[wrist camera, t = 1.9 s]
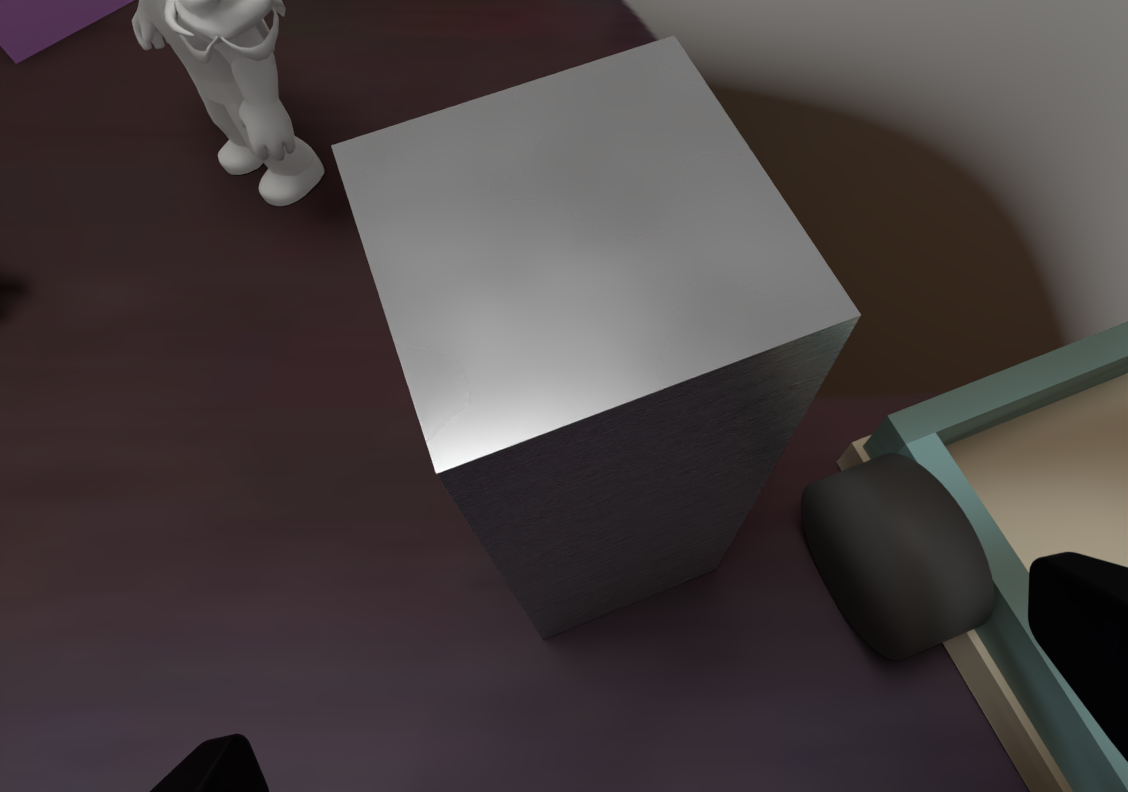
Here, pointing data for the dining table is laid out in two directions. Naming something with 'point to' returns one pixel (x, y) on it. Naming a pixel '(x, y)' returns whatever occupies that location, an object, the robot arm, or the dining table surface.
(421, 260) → the tall gray rectangular block
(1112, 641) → the robot arm
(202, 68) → the flower shoulder figurine
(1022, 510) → the toy car chassis
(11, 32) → the bracket
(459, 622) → the dining table surface
